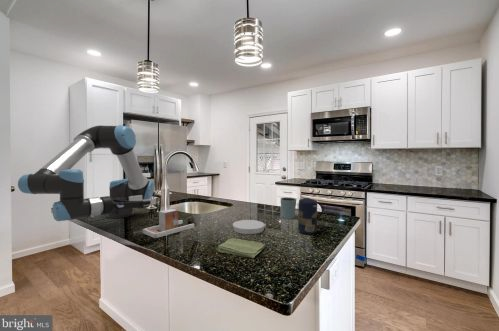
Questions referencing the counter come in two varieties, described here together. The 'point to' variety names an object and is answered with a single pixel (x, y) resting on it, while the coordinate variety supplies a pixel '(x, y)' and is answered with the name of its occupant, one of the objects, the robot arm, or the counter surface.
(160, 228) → the small box
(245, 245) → the washcloth
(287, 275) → the counter surface
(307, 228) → the canister
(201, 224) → the counter surface
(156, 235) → the guide channel
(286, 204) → the drinking glass
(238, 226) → the lid
